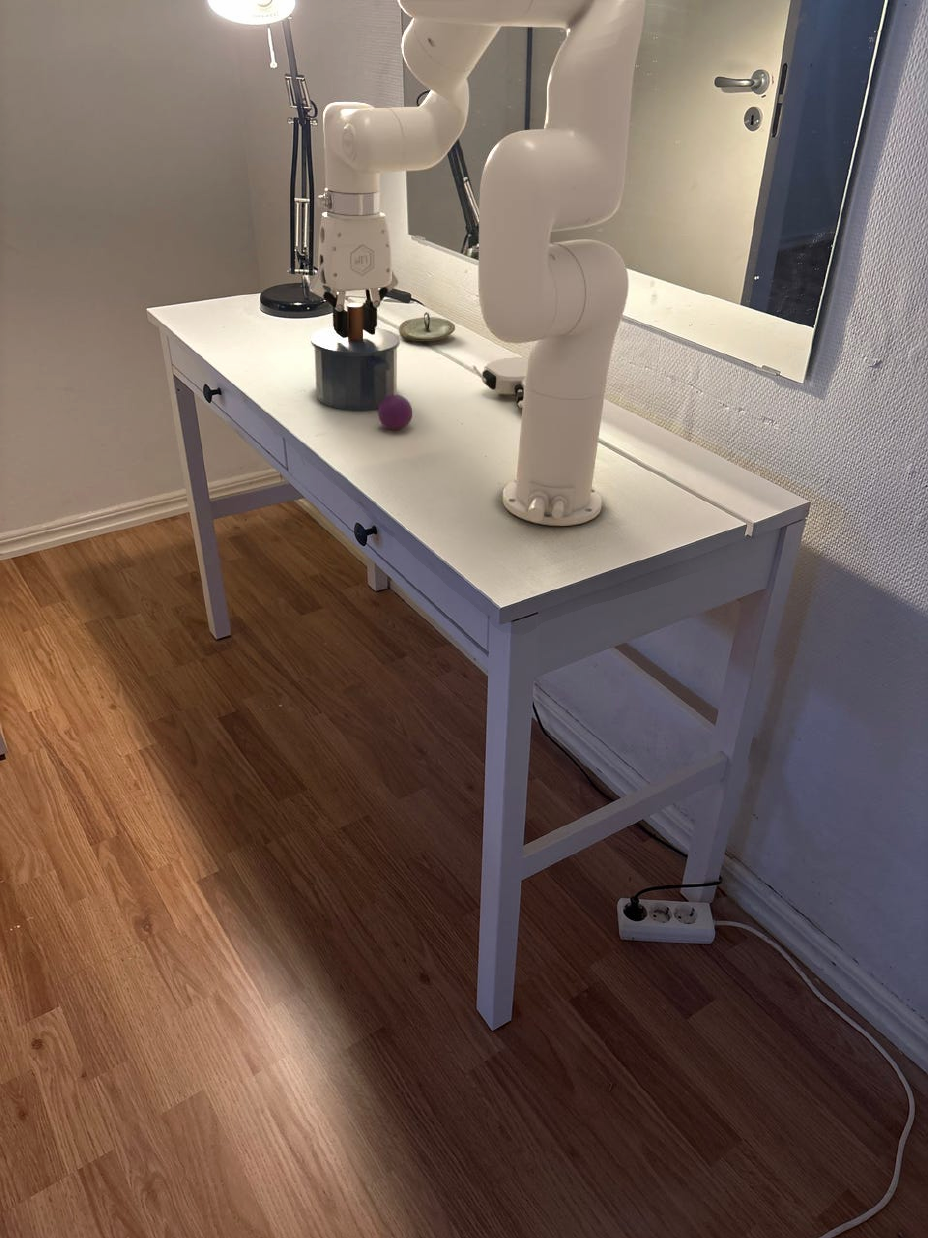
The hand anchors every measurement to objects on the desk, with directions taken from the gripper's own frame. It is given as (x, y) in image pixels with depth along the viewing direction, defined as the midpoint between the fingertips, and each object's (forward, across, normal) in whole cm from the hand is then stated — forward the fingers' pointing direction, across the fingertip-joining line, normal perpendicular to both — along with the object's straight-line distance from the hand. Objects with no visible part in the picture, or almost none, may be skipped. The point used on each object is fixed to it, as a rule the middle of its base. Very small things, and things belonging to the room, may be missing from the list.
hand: (355, 332), depth 140 cm
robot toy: (+10, +24, -11) cm, 29 cm away
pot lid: (+1, 0, 0) cm, 1 cm away
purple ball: (+7, 0, -14) cm, 16 cm away
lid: (+10, +24, +23) cm, 35 cm away
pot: (+10, 0, 0) cm, 10 cm away
